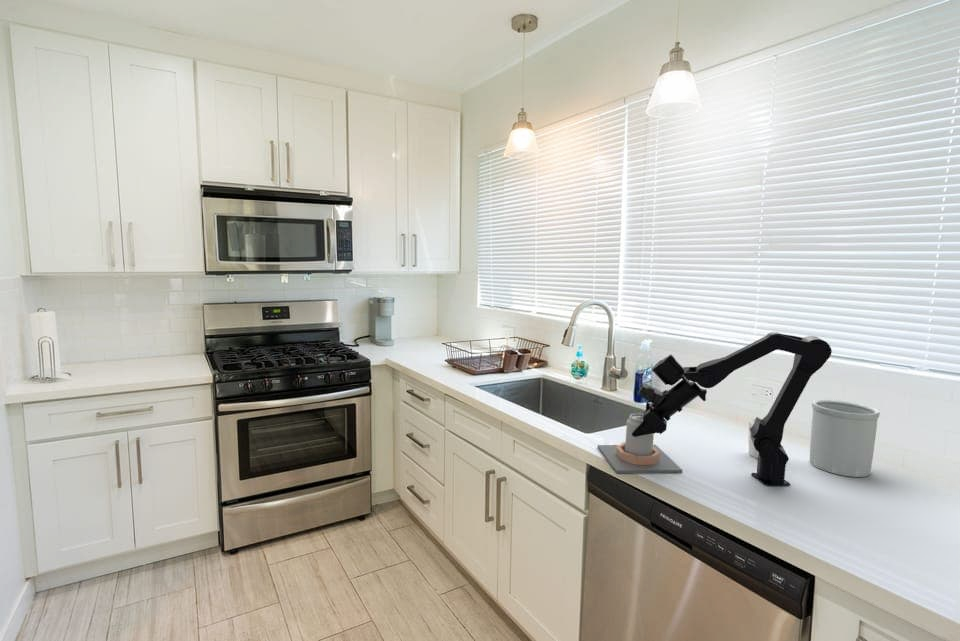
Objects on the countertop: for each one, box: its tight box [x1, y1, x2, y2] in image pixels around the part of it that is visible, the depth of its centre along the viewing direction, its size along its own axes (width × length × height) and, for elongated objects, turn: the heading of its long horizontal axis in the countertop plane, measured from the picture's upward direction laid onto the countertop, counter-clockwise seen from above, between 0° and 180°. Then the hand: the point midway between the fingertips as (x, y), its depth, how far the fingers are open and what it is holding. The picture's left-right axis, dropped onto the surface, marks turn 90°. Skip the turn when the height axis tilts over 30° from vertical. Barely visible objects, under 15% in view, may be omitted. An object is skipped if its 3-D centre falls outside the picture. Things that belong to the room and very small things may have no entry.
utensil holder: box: [809, 398, 881, 478], centre depth 133 cm, size 15×15×18 cm
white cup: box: [748, 418, 763, 459], centre depth 141 cm, size 8×8×10 cm
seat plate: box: [597, 441, 683, 474], centre depth 138 cm, size 18×18×3 cm
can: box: [625, 413, 655, 456], centre depth 137 cm, size 8×8×12 cm
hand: (634, 430), depth 137 cm, fingers open, 8 cm apart
